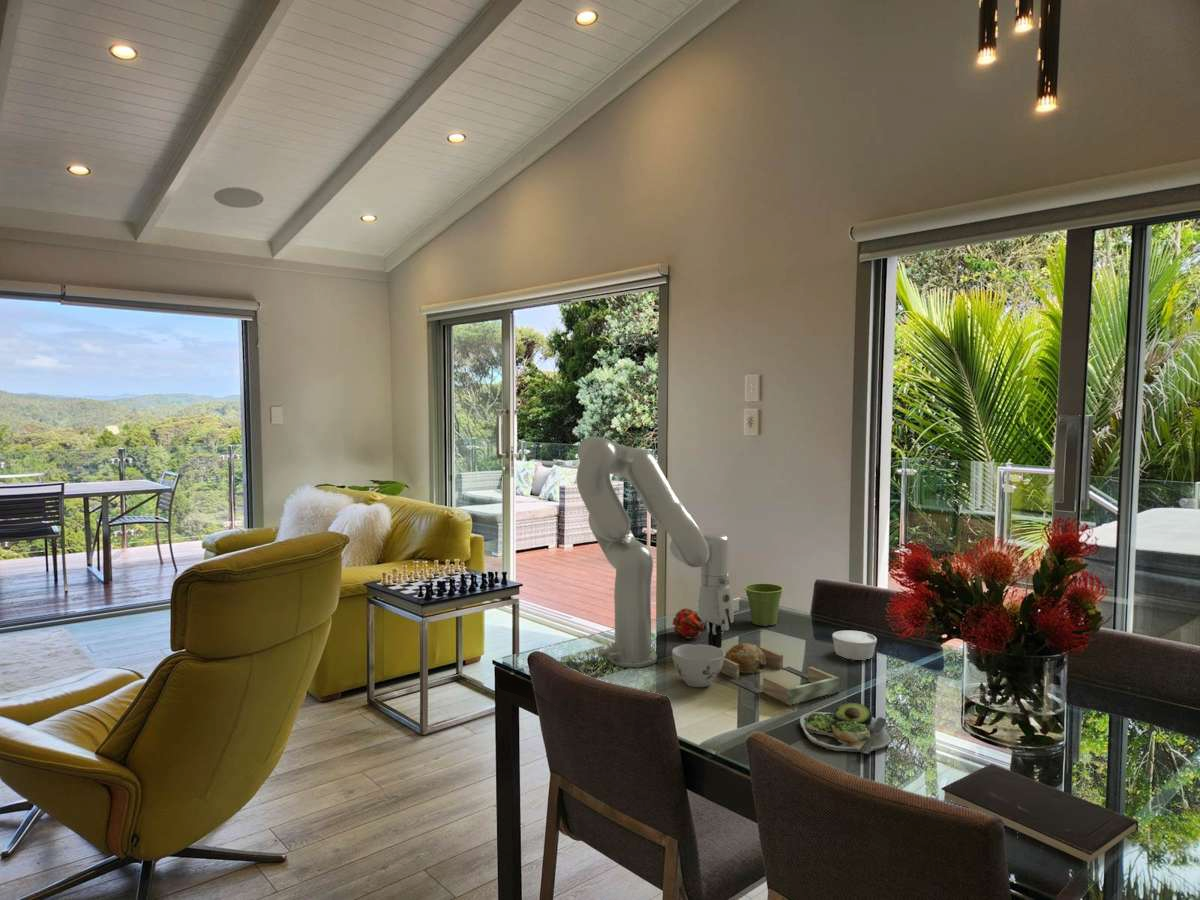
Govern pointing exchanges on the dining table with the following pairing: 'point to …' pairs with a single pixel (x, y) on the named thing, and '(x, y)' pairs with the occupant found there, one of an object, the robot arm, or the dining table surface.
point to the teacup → (698, 663)
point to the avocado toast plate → (848, 727)
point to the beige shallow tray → (817, 687)
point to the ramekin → (854, 644)
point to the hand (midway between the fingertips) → (714, 647)
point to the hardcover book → (1042, 811)
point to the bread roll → (747, 658)
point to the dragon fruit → (688, 623)
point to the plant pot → (764, 602)
